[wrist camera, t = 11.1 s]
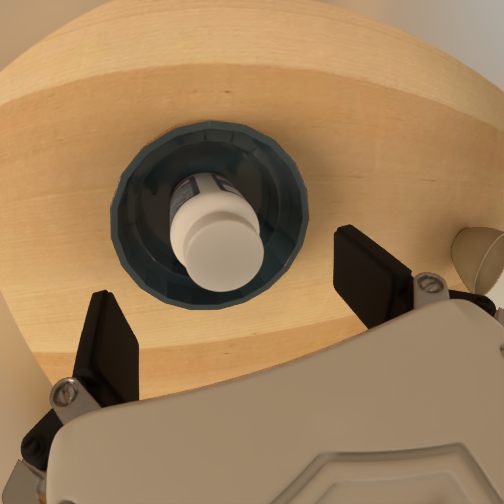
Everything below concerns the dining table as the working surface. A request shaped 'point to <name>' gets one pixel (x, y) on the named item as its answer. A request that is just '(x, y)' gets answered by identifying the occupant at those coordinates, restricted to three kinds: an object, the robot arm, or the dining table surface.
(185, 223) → the pill bottle
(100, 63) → the dining table surface
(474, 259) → the flower pot
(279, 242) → the bowl
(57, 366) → the dining table surface
